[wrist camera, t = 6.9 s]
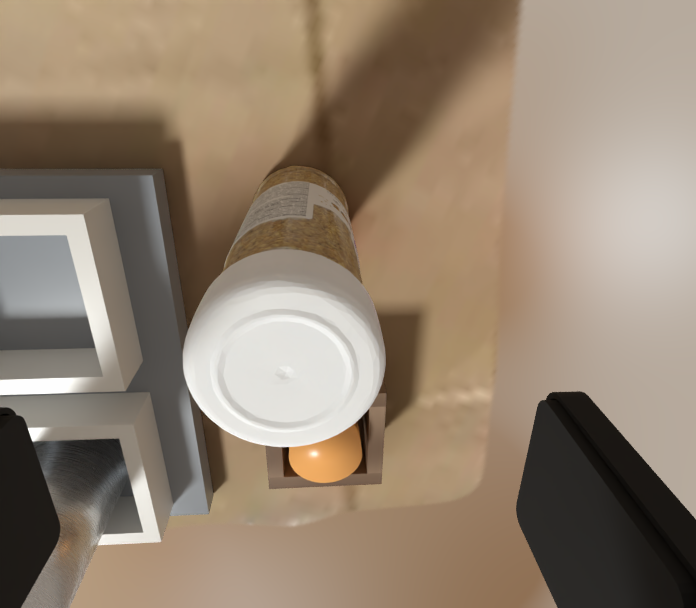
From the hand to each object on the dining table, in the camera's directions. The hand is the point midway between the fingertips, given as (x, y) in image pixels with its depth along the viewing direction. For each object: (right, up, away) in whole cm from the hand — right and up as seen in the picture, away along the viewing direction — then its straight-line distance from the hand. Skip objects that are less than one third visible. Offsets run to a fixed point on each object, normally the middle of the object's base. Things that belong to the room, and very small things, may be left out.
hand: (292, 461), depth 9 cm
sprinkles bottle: (-1, +7, +14) cm, 16 cm away
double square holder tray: (-13, 0, +16) cm, 21 cm away
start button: (0, -3, +17) cm, 17 cm away
